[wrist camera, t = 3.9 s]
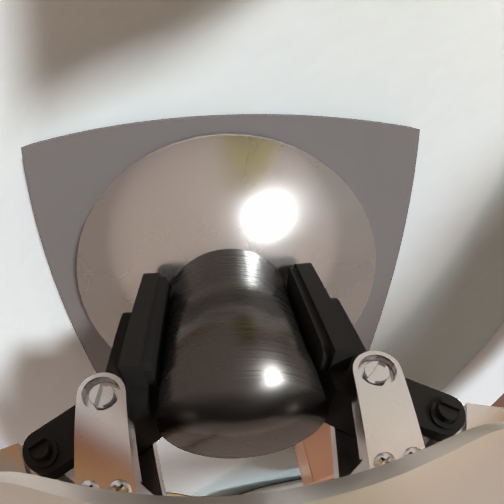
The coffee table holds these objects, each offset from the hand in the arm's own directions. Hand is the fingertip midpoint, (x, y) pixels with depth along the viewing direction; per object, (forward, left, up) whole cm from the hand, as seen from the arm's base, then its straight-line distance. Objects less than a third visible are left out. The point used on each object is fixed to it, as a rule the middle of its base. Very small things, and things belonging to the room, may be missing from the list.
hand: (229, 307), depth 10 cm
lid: (0, 0, -1) cm, 1 cm away
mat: (0, 0, -2) cm, 2 cm away
